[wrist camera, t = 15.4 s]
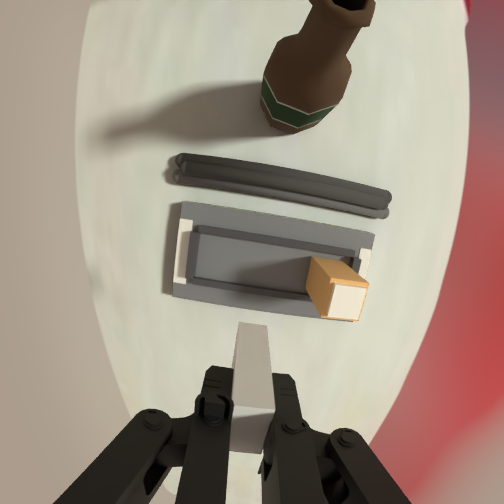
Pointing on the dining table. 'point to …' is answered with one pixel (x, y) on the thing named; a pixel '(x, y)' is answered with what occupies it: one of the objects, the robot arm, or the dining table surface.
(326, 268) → the block
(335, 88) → the beer bottle
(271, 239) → the grey rectangular tray
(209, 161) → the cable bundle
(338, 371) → the dining table surface
